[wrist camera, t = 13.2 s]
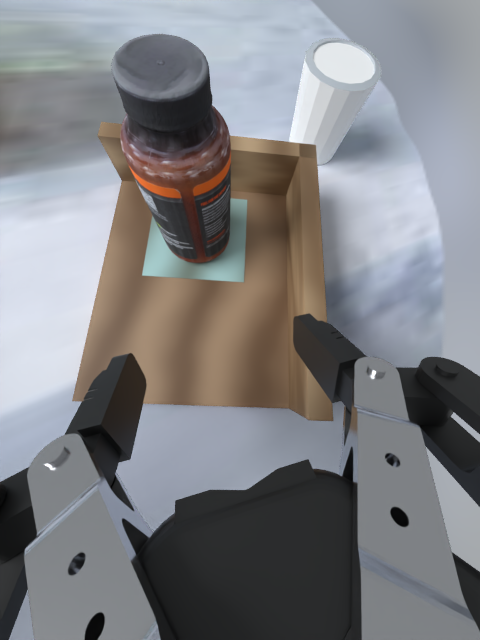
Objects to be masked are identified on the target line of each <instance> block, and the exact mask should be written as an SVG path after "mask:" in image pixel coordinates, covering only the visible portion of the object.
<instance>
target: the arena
mask: <svg viewBox="0 0 480 640" xmlns="http://www.w3.org/2000/svg"><path fill="white" fill-rule="evenodd" d="M121 127H122V124H116V123H106V122H101V125H100V129H99V132H98V137H99V139H100V141H101V143H102V145H103V147H104V148H105V150H106V152H107V154H108V156H109V158H110V159H111V161H112V163H113V165H114V167H115V169H116V170H117V172H118V174H119V176H120V178H121V180H122V183H121V187H120V192H119V196H118V201H117V205H116V209H115V214H114V218H113V223H112V227H111V232H110V236H109V240H108V245H107V249H106V254H105V258H104V263H103V267H102V271H101V276H100V280H99V285H98V289H97V294H96V298H95V302H94V307H93V311H92V316H91V320H90V325H89V329H88V333H87V338H86V342H85V347H84V351H83V356H82V360H81V364H80V369H79V373H78V378H77V382H76V387H75V391H74V395H73V400H72V401H84V397H85V395H86V393H87V392H88V389H89V388H90V386H91V384H92V382H93V380H94V379H95V378H96V377H97V376H98V375H99V374H100V373H101V372H102V371H103V370H106V369H107V367H108V365H109V363H110V361H111V359H112V358H113V357H115V356H120V355H124V354H129V353H132V354H133V355H134V356H135V358H136V360H137V362H138V364H139V366H140V368H141V370H142V371H143V373H144V375H145V378H146V383H147V387H146V392H145V397H144V401H143V403H145V404H174V405H203V406H232V407H262V408H289V409H291V410H293V411H294V412H296V413H298V414H299V415H301V416H303V417H304V418H306V419H308V420H316V421H333V409H332V402H331V401H330V399H329V398H328V396H327V395H326V394H325V392H324V391H323V389H322V388H321V386H320V385H319V383H318V382H317V381H316V379H315V378H314V376H313V375H312V373H311V372H310V371H309V369H308V368H307V366H306V365H305V363H304V362H303V361H302V359H301V358H300V356H299V355H298V353H297V352H296V350H295V348H294V344H293V319H294V317H295V316H299V315H303V314H308V313H310V314H311V315H312V316H313V317H314V318H315V319H316V320H318V321H321V320H322V321H324V322H326V323H327V313H326V297H325V281H324V265H323V249H322V233H321V217H320V201H319V185H318V168H317V152H316V145H313V144H303V143H294V142H284V141H275V140H266V139H256V138H247V137H238V136H230V142H231V200H230V237H229V242H228V245H227V247H226V248H225V250H224V251H223V252H222V253H221V254H220V255H219V256H218V257H217V258H215V259H213V260H211V261H208V262H203V263H191V262H187V261H184V260H182V259H180V258H178V257H177V256H176V255H175V254H173V253H172V251H171V250H170V249H169V247H168V246H167V244H166V242H165V240H164V238H163V236H162V234H161V232H160V230H159V228H158V226H157V224H156V221H155V219H154V217H153V215H152V213H151V211H150V209H149V207H148V204H147V203H146V201H145V199H144V197H143V195H142V193H141V190H140V189H139V186H138V184H137V182H136V180H135V178H134V175H133V173H132V171H131V169H130V167H129V165H128V163H127V161H126V158H125V156H124V153H123V150H122V146H121V137H120V134H121Z"/></svg>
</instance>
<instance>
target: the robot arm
mask: <svg viewBox="0 0 480 640" xmlns="http://www.w3.org/2000/svg"><path fill="white" fill-rule="evenodd" d="M293 344H294V348H295V350H296V352H297V353H298V355H299V356H300V358H301V359H302V361H303V362H304V363H305V365H306V366H307V368H308V369H309V371H310V372H311V373H312V375H313V376H314V378H315V379H316V381H317V382H318V383H319V385H320V386H321V388H322V389H323V391H324V392H325V394H326V395H327V396H328V398H329V399H330V401H331V402H332V403H335V402H338V401H342V402H343V403H344V405H345V408H344V421H343V440H342V454H341V461H340V469H339V475H338V474H336V473H333V472H329V471H326V470H320V469H312V466H311V464H310V462H309V460H308V459H307V460H304V461H301V462H298V463H295V464H291V465H288V466H285V467H282V468H279V469H277V470H275V471H274V472H272V473H271V474H269V475H268V476H267V477H265V478H264V479H262V480H261V481H259V482H258V483H256V484H255V485H254V486H252V487H251V488H249V489H247V490H208V491H205V492H202V493H199V494H195V495H192V496H189V497H186V498H183V499H179V500H176V501H175V513H174V514H173V515H171V516H170V517H169V518H168V519H167V520H165V521H164V522H163V523H162V524H161V525H160V526H159V527H158V528H157V529H156V530H155V531H154V533H153V532H152V530H151V529H150V527H149V526H148V524H147V523H146V522H145V521H144V519H143V518H142V517H141V515H140V513H139V512H138V510H137V508H136V506H135V504H134V503H133V501H132V499H131V497H130V495H129V494H128V492H127V490H126V488H125V486H124V484H123V483H122V481H121V479H120V477H119V475H118V474H117V473H116V470H117V466H118V463H119V462H122V461H126V460H129V459H131V454H132V450H133V445H134V441H135V437H136V432H137V428H138V423H139V419H140V414H141V410H142V406H143V401H144V397H145V392H146V387H147V383H146V378H145V375H144V373H143V371H142V370H141V368H140V366H139V364H138V362H137V360H136V358H135V356H134V355H133V354H132V353H129V354H124V355H120V356H115V357H113V358H112V359H111V361H110V363H109V365H108V367H107V369H106V370H103V371H102V372H101V373H100V374H99V375H98V376H97V377H96V378H95V379H94V380H93V382H92V384H91V386H90V388H89V389H88V392H87V393H86V395H85V397H84V401H82V403H81V405H80V406H79V408H78V410H77V412H76V414H75V416H74V418H73V420H72V422H71V423H70V425H69V427H68V429H67V431H66V433H65V435H64V436H61V437H59V438H57V439H56V440H54V441H52V442H51V443H50V444H48V445H47V446H46V447H45V448H44V449H42V450H41V451H40V452H39V454H38V455H37V456H36V457H35V458H34V460H33V461H32V463H31V465H30V467H28V468H26V469H24V470H22V471H21V472H19V473H17V474H15V475H13V476H11V477H9V478H7V479H5V480H3V481H1V482H0V640H9V637H10V635H11V632H12V629H13V627H14V624H15V621H16V619H17V616H18V613H19V611H20V608H21V605H22V603H23V600H24V598H25V595H26V592H27V590H28V594H29V602H30V610H31V618H32V626H33V634H34V640H480V572H479V571H478V570H476V569H475V568H473V567H472V566H471V565H469V564H468V563H466V562H465V561H464V560H462V559H461V558H459V557H458V556H456V555H455V554H454V553H452V551H451V547H450V543H449V540H448V536H447V531H446V528H445V523H444V519H443V515H442V512H441V508H440V503H439V500H438V495H437V491H436V488H435V483H434V479H433V476H432V472H431V467H430V464H429V460H428V455H427V452H426V447H427V448H428V449H429V450H430V451H431V453H432V454H433V455H434V456H435V457H436V458H437V459H438V460H439V462H440V463H441V464H442V465H443V466H444V467H445V468H446V469H447V471H448V472H449V473H450V474H451V475H452V476H453V477H454V478H455V480H456V481H457V482H458V483H459V484H460V485H461V486H462V488H463V489H464V490H465V491H466V492H467V493H468V494H469V495H470V497H471V498H472V499H473V500H474V501H475V502H476V503H477V504H478V506H480V443H479V442H478V441H477V440H476V439H475V438H474V437H473V436H472V435H471V434H469V433H468V432H467V431H466V430H465V429H464V428H463V427H461V426H460V425H459V424H458V423H457V422H456V421H455V420H454V419H453V418H451V417H450V416H451V415H452V414H453V412H455V413H456V414H457V415H458V416H459V417H460V418H461V419H463V420H464V421H465V422H466V423H468V425H470V426H471V427H472V428H473V429H474V430H475V431H477V432H478V433H479V434H480V377H479V376H478V375H476V374H475V373H473V372H472V371H470V370H469V369H467V368H466V367H464V366H462V365H460V364H459V363H457V362H454V361H452V360H449V359H445V358H440V357H427V358H424V359H423V360H422V361H421V363H420V365H419V367H418V368H395V367H394V366H393V365H392V364H390V363H389V362H387V361H385V360H383V359H380V358H376V357H367V356H366V355H364V354H363V353H362V352H361V351H360V350H359V349H358V348H357V347H355V346H354V345H353V344H352V343H351V342H350V341H349V340H348V339H347V338H344V336H343V335H342V334H341V333H340V332H338V330H336V329H335V328H334V327H333V326H332V325H330V324H328V323H326V322H324V321H322V320H321V321H318V320H316V319H315V318H314V317H313V316H312V315H311V314H310V313H308V314H303V315H299V316H295V317H294V319H293ZM425 446H426V447H425Z"/></svg>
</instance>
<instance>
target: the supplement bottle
mask: <svg viewBox="0 0 480 640" xmlns="http://www.w3.org/2000/svg"><path fill="white" fill-rule="evenodd" d="M111 66H112V74H113V77H114V80H115V83H116V86H117V88H118V91H119V93H120V96H121V99H122V102H123V106H124V109H125V111H126V113H127V114H126V116H125V118H124V120H123V123H122V127H121V134H120V137H121V146H122V150H123V153H124V156H125V158H126V161H127V163H128V165H129V167H130V169H131V171H132V173H133V175H134V178H135V180H136V182H137V184H138V186H139V189H140V190H141V193H142V195H143V197H144V199H145V201H146V203H147V204H148V207H149V209H150V211H151V213H152V215H153V217H154V219H155V221H156V224H157V226H158V228H159V230H160V232H161V234H162V236H163V238H164V240H165V242H166V244H167V246H168V247H169V249H170V250H171V251H172V253H173V254H175V255H176V256H177V257H178V258H180V259H182V260H184V261H187V262H191V263H203V262H208V261H211V260H213V259H215V258H217V257H218V256H219V255H220V254H221V253H222V252H223V251H224V250H225V248H226V247H227V245H228V242H229V237H230V200H231V142H230V135H229V131H228V127H227V125H226V122H225V120H224V119H223V117H222V116H221V114H220V113H219V112H218V111H217V110H216V108H215V107H213V106H212V94H211V89H210V75H209V66H208V62H207V60H206V57H205V55H204V54H203V53H202V51H201V50H200V49H199V48H198V47H197V46H195V45H194V44H192V43H191V42H189V41H187V40H185V39H183V38H180V37H177V36H172V35H165V34H152V35H144V36H140V37H137V38H135V39H132V40H130V41H128V42H127V43H125V44H124V45H123V46H122V47H120V48H119V50H118V51H117V52H116V53H115V56H114V57H113V59H112V63H111Z"/></svg>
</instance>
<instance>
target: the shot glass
mask: <svg viewBox="0 0 480 640" xmlns="http://www.w3.org/2000/svg"><path fill="white" fill-rule="evenodd" d="M380 77H381V65H380V64H379V62H378V60H377V58H376V57H375V56H374V54H372V53H371V52H370V51H369V50H368V49H366V48H365V47H364V46H361V45H359V44H357V43H355V42H353V41H350V40H345V39H340V38H327V39H322V40H319V41H317V42H314V43H313V44H312V45H311V46H310V47H309V48H308V49H307V51H306V55H305V60H304V65H303V71H302V76H301V81H300V86H299V91H298V97H297V102H296V107H295V112H294V118H293V123H292V128H291V133H290V138H289V142H294V143H303V144H313V145H316V152H317V165H323V164H325V163H327V162H329V161H330V160H331V158H332V157H333V155H334V154H335V152H336V150H337V149H338V147H339V146H340V144H341V142H342V141H343V139H344V137H345V136H346V134H347V132H348V131H349V129H350V127H351V126H352V124H353V122H354V121H355V119H356V117H357V116H358V114H359V112H360V111H361V109H362V107H363V106H364V104H365V102H366V101H367V99H368V97H369V96H370V94H371V92H372V91H373V89H374V87H375V86H376V84H377V82H378V81H379V79H380Z"/></svg>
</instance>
